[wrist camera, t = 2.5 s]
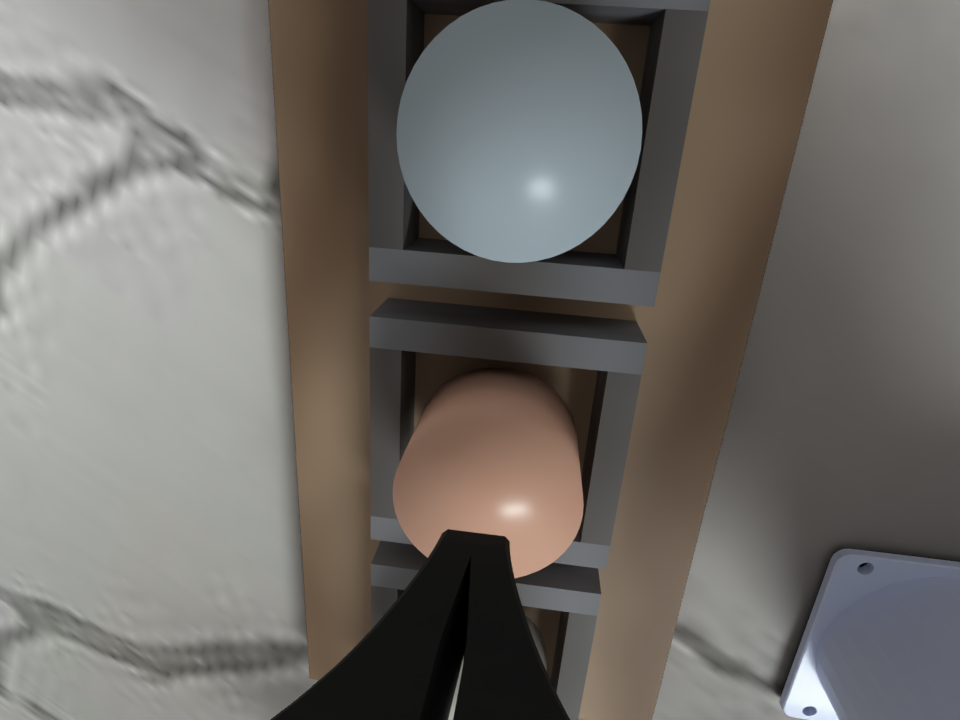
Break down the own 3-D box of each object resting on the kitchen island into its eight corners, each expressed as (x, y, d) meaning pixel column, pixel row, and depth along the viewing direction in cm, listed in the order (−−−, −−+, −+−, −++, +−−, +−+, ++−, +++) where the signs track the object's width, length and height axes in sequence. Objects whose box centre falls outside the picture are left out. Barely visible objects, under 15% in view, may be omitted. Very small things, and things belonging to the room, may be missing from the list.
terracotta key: (587, 376, 16) (596, 429, 13) (567, 516, 18) (570, 591, 15) (421, 359, 17) (393, 407, 14) (417, 498, 18) (391, 567, 15)
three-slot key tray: (821, -32, 14) (892, -76, 11) (644, 701, 24) (658, 781, 21) (284, -56, 15) (221, -102, 13) (320, 654, 25) (289, 723, 22)
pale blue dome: (637, 36, 13) (663, 5, 10) (606, 245, 15) (621, 272, 12) (430, 24, 13) (397, -8, 11) (424, 230, 15) (395, 252, 12)
